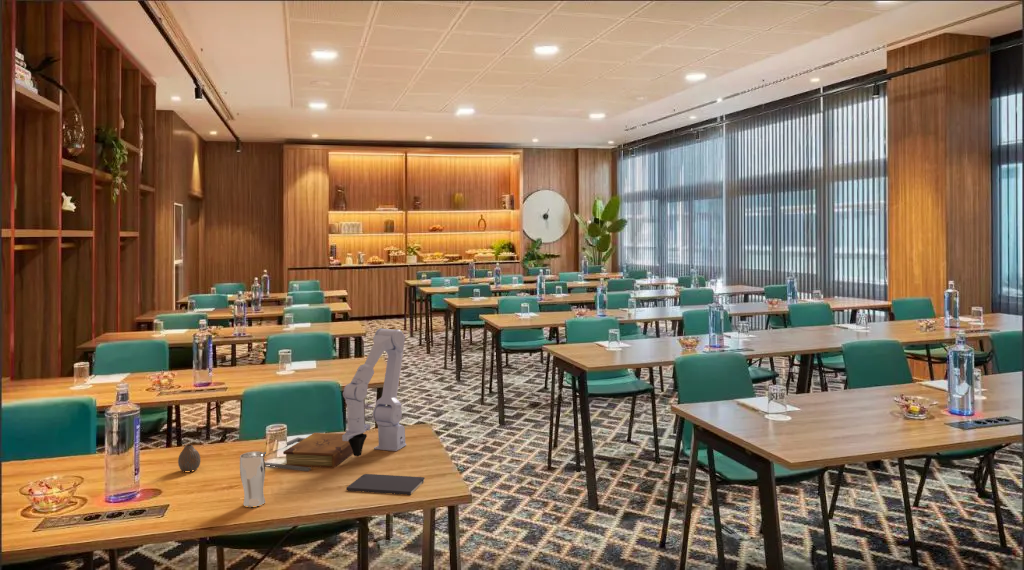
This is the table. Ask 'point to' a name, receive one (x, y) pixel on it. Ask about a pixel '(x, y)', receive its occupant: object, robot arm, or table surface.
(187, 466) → the grey teardrop shape
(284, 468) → the flat grey piece
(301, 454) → the diary
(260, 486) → the beer glass
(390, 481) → the notebook
